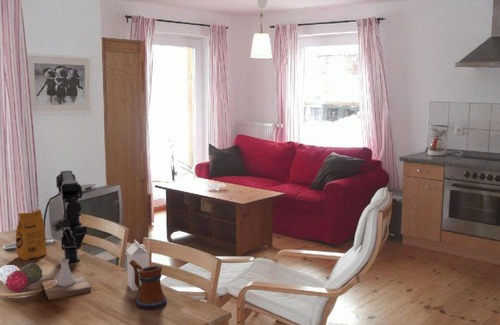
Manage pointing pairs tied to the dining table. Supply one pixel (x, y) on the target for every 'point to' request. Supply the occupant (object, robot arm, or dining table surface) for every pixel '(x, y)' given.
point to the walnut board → (69, 288)
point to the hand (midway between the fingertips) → (74, 247)
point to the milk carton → (140, 257)
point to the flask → (65, 275)
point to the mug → (149, 286)
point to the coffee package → (30, 235)
